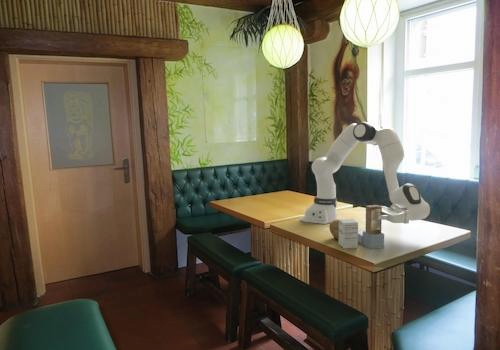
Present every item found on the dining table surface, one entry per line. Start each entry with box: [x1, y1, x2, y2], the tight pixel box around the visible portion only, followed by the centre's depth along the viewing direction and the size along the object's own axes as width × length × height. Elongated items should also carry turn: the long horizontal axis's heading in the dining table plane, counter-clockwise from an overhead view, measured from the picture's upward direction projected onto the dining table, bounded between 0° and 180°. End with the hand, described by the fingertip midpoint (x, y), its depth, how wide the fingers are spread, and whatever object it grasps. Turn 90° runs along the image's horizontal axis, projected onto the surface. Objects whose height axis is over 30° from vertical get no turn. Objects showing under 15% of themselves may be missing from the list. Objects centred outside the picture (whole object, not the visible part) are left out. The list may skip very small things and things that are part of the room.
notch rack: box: [358, 229, 385, 250], centre depth 188 cm, size 7×16×6 cm, turn 13°
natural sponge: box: [328, 219, 339, 240], centre depth 196 cm, size 9×9×10 cm
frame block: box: [365, 204, 383, 234], centre depth 183 cm, size 6×4×13 cm
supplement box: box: [338, 218, 359, 249], centre depth 184 cm, size 7×7×13 cm
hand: (372, 215), depth 182 cm, fingers open, 8 cm apart
